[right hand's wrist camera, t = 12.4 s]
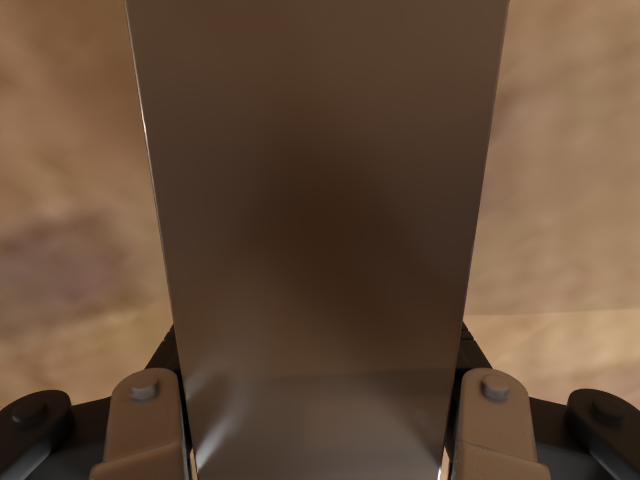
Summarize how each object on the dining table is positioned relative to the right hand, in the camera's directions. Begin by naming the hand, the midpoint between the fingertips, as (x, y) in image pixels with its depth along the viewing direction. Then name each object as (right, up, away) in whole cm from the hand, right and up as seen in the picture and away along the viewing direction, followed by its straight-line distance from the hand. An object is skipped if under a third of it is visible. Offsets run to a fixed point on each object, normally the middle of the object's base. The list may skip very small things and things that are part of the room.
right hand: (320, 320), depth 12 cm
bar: (0, +10, +1) cm, 10 cm away
